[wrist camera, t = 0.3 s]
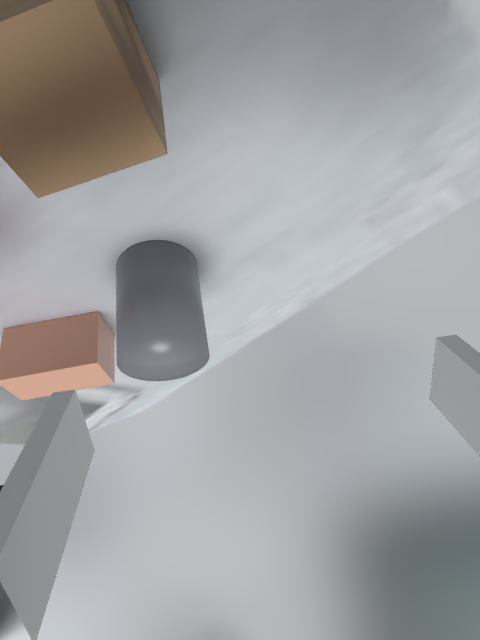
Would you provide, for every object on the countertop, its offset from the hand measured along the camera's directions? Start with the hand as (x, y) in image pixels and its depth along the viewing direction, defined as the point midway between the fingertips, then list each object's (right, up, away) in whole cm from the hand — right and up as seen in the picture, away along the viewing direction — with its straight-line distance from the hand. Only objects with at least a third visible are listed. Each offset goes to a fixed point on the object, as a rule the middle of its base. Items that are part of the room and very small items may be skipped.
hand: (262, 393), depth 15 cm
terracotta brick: (-16, +2, +22) cm, 27 cm away
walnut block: (-8, +15, +3) cm, 18 cm away
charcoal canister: (-7, +7, +17) cm, 19 cm away
